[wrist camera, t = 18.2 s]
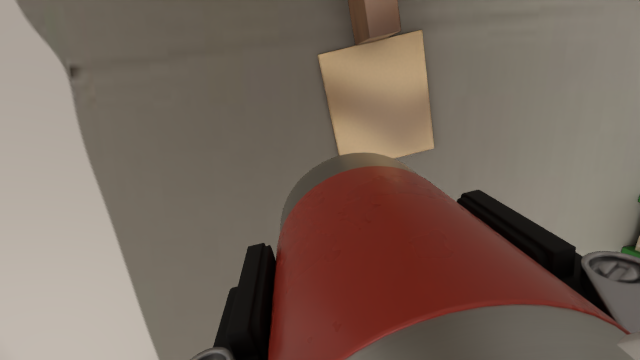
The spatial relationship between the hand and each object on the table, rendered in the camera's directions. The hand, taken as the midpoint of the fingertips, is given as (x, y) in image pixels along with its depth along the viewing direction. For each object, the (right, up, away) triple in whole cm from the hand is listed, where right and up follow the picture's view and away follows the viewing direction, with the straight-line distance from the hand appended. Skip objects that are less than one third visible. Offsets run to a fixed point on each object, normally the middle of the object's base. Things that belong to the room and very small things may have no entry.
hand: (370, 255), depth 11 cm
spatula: (+2, +14, +14) cm, 20 cm away
